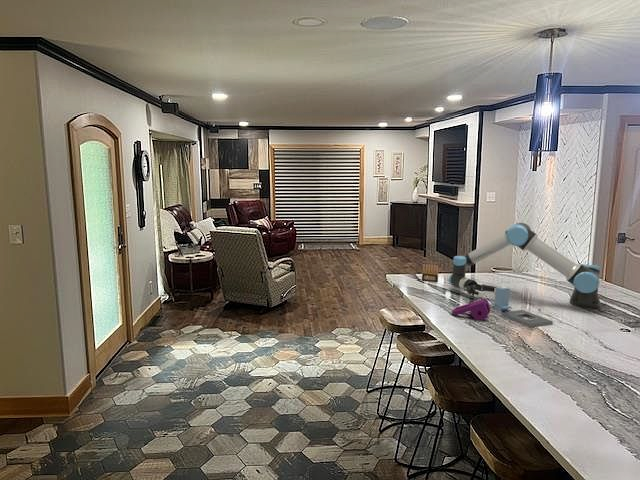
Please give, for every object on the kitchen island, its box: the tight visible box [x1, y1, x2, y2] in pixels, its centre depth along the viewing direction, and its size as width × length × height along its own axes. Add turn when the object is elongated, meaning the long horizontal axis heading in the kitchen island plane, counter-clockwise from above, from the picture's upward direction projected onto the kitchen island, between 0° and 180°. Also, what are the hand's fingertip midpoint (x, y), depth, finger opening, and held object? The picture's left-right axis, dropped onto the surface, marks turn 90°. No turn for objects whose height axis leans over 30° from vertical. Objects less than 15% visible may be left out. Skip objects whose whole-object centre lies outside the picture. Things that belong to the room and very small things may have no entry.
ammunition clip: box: [421, 263, 439, 283], centre depth 320 cm, size 11×2×12 cm, turn 67°
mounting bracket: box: [451, 297, 491, 321], centre depth 245 cm, size 10×8×18 cm
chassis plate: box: [500, 309, 554, 328], centre depth 241 cm, size 20×14×2 cm
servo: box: [490, 285, 513, 312], centre depth 258 cm, size 10×5×13 cm, turn 21°
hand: (493, 294), depth 264 cm, fingers open, 13 cm apart
